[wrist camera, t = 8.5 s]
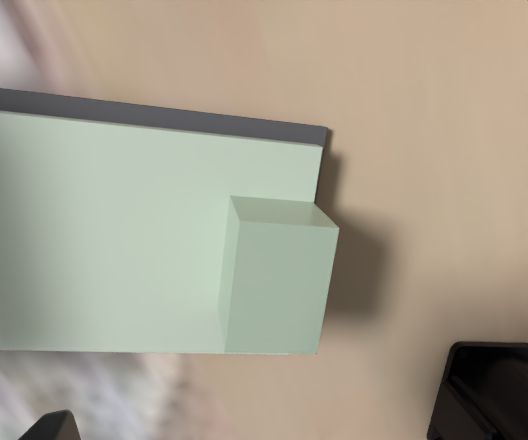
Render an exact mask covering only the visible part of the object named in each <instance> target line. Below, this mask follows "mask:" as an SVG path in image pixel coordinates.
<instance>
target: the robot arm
mask: <svg viewBox="0 0 528 440" xmlns="http://www.w3.org/2000/svg"><path fill="white" fill-rule="evenodd" d="M462 350H463V351H462ZM460 351H462V352H461V353H460V354H459V352H460ZM18 440H81V438H80V435H79V432H78V428H77V425H76V422H75V419H74V416H73V414H72V412H71V411H70V410H61V411H56V412H52V413H47V414H45V415H43V416H42V417H41V418H40V419H39V420H38V421H37V422H36V423H35V424H34V425H33V426H32V427H31V428H30V429H29V430H28V431H27V432H26V433H24V434H23V435H22V436H21V437H20V438H19V439H18ZM427 440H528V344H527V343H487V342H457V343H455V344H454V345H453V346H452V347H451V349H450V351H449V355H448V359H447V362H446V366H445V370H444V374H443V377H442V381H441V384H440V387H439V391H438V395H437V399H436V402H435V406H434V410H433V413H432V417H431V422H430V425H429V429H428V433H427Z"/></svg>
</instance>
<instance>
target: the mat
mask: <svg viewBox="0 0 528 440" xmlns="http://www.w3.org/2000/svg"><path fill="white" fill-rule="evenodd" d="M0 111H8V112H18V113H27V114H36V115H46V116H55V117H64V118H74V119H83V120H92V121H102V122H111V123H120V124H130V125H139V126H148V127H158V128H167V129H176V130H186V131H195V132H204V133H214V134H223V135H232V136H242V137H251V138H260V139H270V140H279V141H288V142H298V143H307V144H316V145H319V146H321V147H323V149H322V155H321V161H320V167H319V174H318V180H317V186H316V192H315V199H314V204H315V201H316V195H317V189H318V183H319V176H320V170H321V164H322V158H323V152H324V146H325V140H326V133H327V127H323V126H315V125H306V124H298V123H289V122H281V121H273V120H264V119H256V118H247V117H239V116H230V115H222V114H214V113H205V112H197V111H188V110H180V109H171V108H163V107H155V106H146V105H138V104H129V103H121V102H112V101H104V100H96V99H87V98H79V97H70V96H62V95H53V94H45V93H37V92H28V91H20V90H11V89H3V88H0Z"/></svg>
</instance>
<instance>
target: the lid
mask: <svg viewBox="0 0 528 440" xmlns="http://www.w3.org/2000/svg"><path fill="white" fill-rule="evenodd" d="M322 149H323V147H321V146H319V145H316V144H307V143H298V142H288V141H279V140H270V139H260V138H251V137H242V136H232V135H223V134H214V133H204V132H195V131H186V130H176V129H167V128H158V127H148V126H139V125H130V124H120V123H111V122H102V121H92V120H83V119H74V118H64V117H55V116H46V115H36V114H27V113H18V112H8V111H0V350H16V351H82V352H147V353H212V354H278V355H290V354H317V351H318V346H319V340H320V335H321V329H322V323H323V318H324V312H325V307H326V301H327V295H328V290H329V284H330V278H331V273H332V267H333V262H334V256H335V250H336V245H337V239H338V233H339V227H338V226H337V225H336V224H335V223H334V222H333V221H332V220H331V219H330V218H329V217H328V216H327V215H325V214H324V213H323V212H322V211H321V210H320V209H319V208H318V207H317V206H316V205H315V204H314V199H315V192H316V186H317V180H318V174H319V167H320V161H321V155H322Z"/></svg>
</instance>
